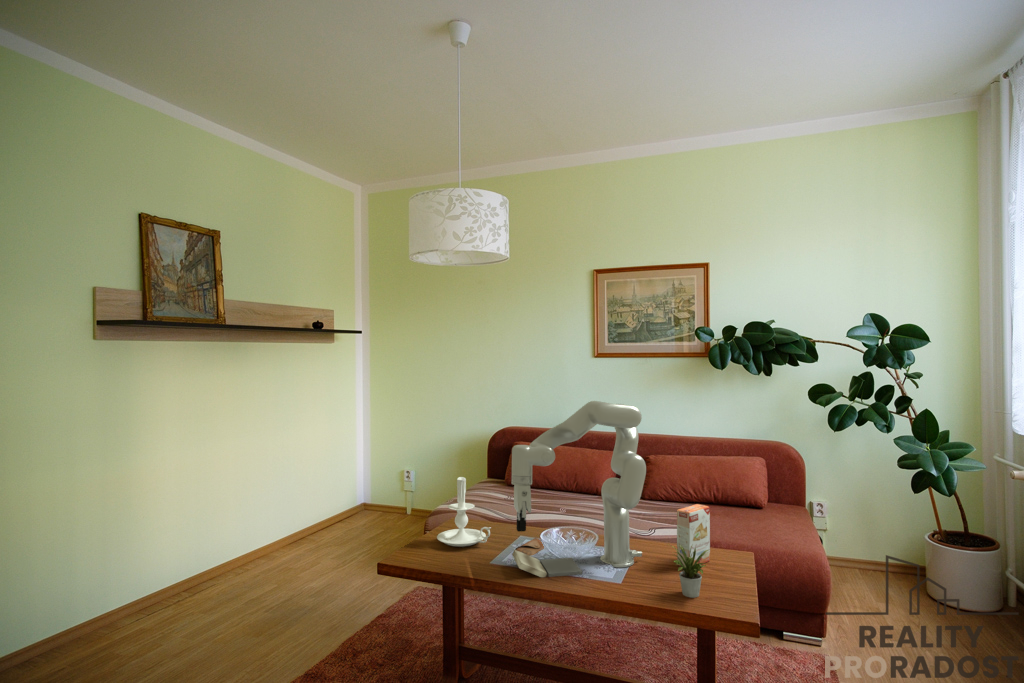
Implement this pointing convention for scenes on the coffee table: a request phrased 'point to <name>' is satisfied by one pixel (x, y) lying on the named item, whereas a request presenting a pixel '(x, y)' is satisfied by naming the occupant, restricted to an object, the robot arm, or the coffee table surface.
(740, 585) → the coffee table surface
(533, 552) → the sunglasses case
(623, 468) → the robot arm
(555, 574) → the floor board
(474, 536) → the candlestick
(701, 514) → the cracker box
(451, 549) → the coffee table surface
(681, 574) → the house plant
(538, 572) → the ash plank
